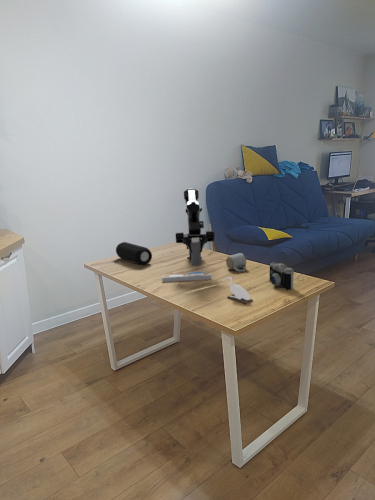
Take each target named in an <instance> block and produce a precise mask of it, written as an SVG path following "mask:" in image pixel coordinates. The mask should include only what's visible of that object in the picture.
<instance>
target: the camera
mask: <svg viewBox="0 0 375 500" xmlns="http://www.w3.org/2000/svg"><path fill="white" fill-rule="evenodd" d="M294 274H295V273H294V269H293V268H292V267H288V266H287V265H286V264H284V263H276V262H272V263H270V264H269V282H270V283H271V284H272V285H274V286H276V287H279V288H282V289H284V290H286V291H291V290H293V289H294Z"/></svg>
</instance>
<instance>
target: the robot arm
mask: <svg viewBox="0 0 375 500" xmlns="http://www.w3.org/2000/svg"><path fill="white" fill-rule="evenodd" d="M199 199H200V195H199V190H198V189H197V188H195V187H190V188H189V187H188V188H186V190H184V191H183V200H184V201H185V202H184V203H185V204H186V205H185V214H187V223H188V224H187V225H188V233H185V232H176V233H175V244H182V245H185V246H186V250H188V255H189V256H188V257H187V259H188V260H190V261H192V259H191V242H192V238H193V237H199V241H200V245H201V253H202V252H203V249H204V246H205V244H207V243H209V242H214V241H215V231H214V230H207V231H205V233H204V234H203V233H202V234H201V232H202V230H201V229H204V227H205V226H204V224H205V223H204V221H203V220H200V216H201V215H200V213H201V212H203V207H202V206H201V205H200V203H199V201H198V200H199ZM184 233H185V234H184ZM202 259H203V257H202V256H201V260H202Z"/></svg>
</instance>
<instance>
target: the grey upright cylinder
mask: <svg viewBox="0 0 375 500" xmlns="http://www.w3.org/2000/svg"><path fill="white" fill-rule="evenodd" d="M201 257H202V252H201V245H200V241H199V237H193V238H192V242H191V259H192V260H191V265H192V266H195V267H198V266H201V265H202V259H201Z"/></svg>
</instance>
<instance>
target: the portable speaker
mask: <svg viewBox="0 0 375 500" xmlns="http://www.w3.org/2000/svg"><path fill="white" fill-rule="evenodd" d="M115 254H116V255H117V256H118V258H120V259H122V258H123V260H125V261H128V260H129V261H128V262H131V261H132V263H134V262H135V263H134V264H138V265H140V266H143V265H148V264H149V263H151V261H152V259H153V254H152V251H151V250H150V249H149V248H148V247H144V246H141V245H138V244H134V243H130V242H126V241H122V242H120V243H119V244H117V246H116V247H115Z"/></svg>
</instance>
